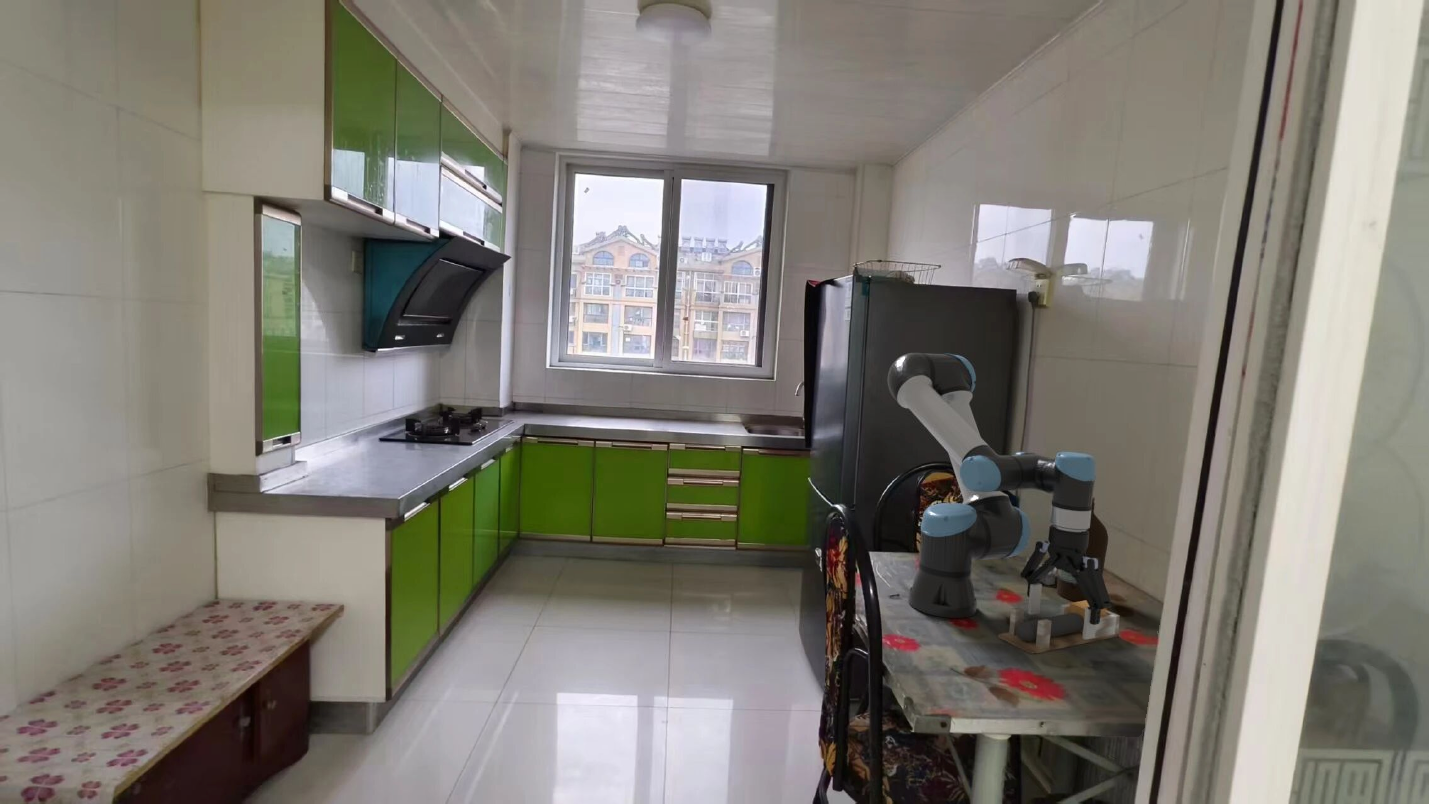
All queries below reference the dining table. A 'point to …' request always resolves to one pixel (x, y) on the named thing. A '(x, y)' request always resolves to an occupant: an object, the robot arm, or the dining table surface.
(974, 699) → the dining table surface
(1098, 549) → the olive oil
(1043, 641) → the wooden stand
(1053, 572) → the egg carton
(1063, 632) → the grey handled block hammer
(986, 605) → the dining table surface
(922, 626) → the dining table surface
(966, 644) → the dining table surface
